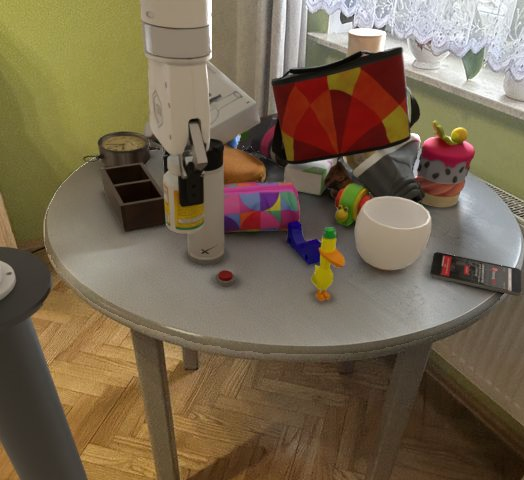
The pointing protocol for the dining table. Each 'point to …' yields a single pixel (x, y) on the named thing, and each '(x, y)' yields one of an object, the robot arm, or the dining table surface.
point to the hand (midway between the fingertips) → (183, 192)
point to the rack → (134, 196)
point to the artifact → (337, 179)
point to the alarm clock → (123, 149)
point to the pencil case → (260, 206)
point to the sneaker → (392, 171)
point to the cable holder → (303, 244)
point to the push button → (225, 278)
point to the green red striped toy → (350, 203)
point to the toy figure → (327, 263)
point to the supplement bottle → (175, 215)
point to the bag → (343, 107)
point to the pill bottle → (150, 133)
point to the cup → (391, 232)
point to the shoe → (268, 145)
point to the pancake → (241, 167)
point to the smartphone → (476, 273)
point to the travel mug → (210, 211)
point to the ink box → (309, 175)
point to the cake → (444, 166)
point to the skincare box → (228, 107)
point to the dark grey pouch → (256, 131)
